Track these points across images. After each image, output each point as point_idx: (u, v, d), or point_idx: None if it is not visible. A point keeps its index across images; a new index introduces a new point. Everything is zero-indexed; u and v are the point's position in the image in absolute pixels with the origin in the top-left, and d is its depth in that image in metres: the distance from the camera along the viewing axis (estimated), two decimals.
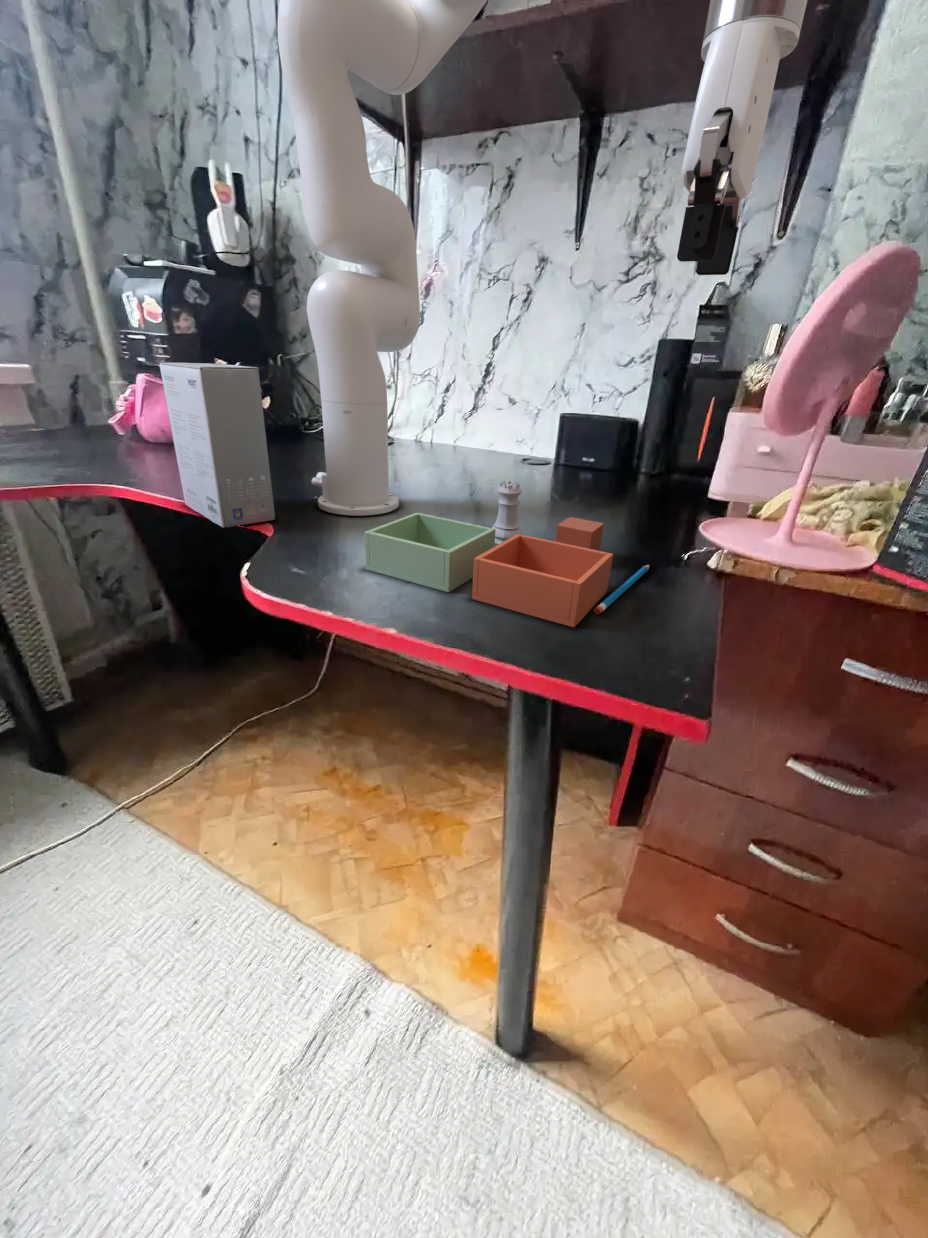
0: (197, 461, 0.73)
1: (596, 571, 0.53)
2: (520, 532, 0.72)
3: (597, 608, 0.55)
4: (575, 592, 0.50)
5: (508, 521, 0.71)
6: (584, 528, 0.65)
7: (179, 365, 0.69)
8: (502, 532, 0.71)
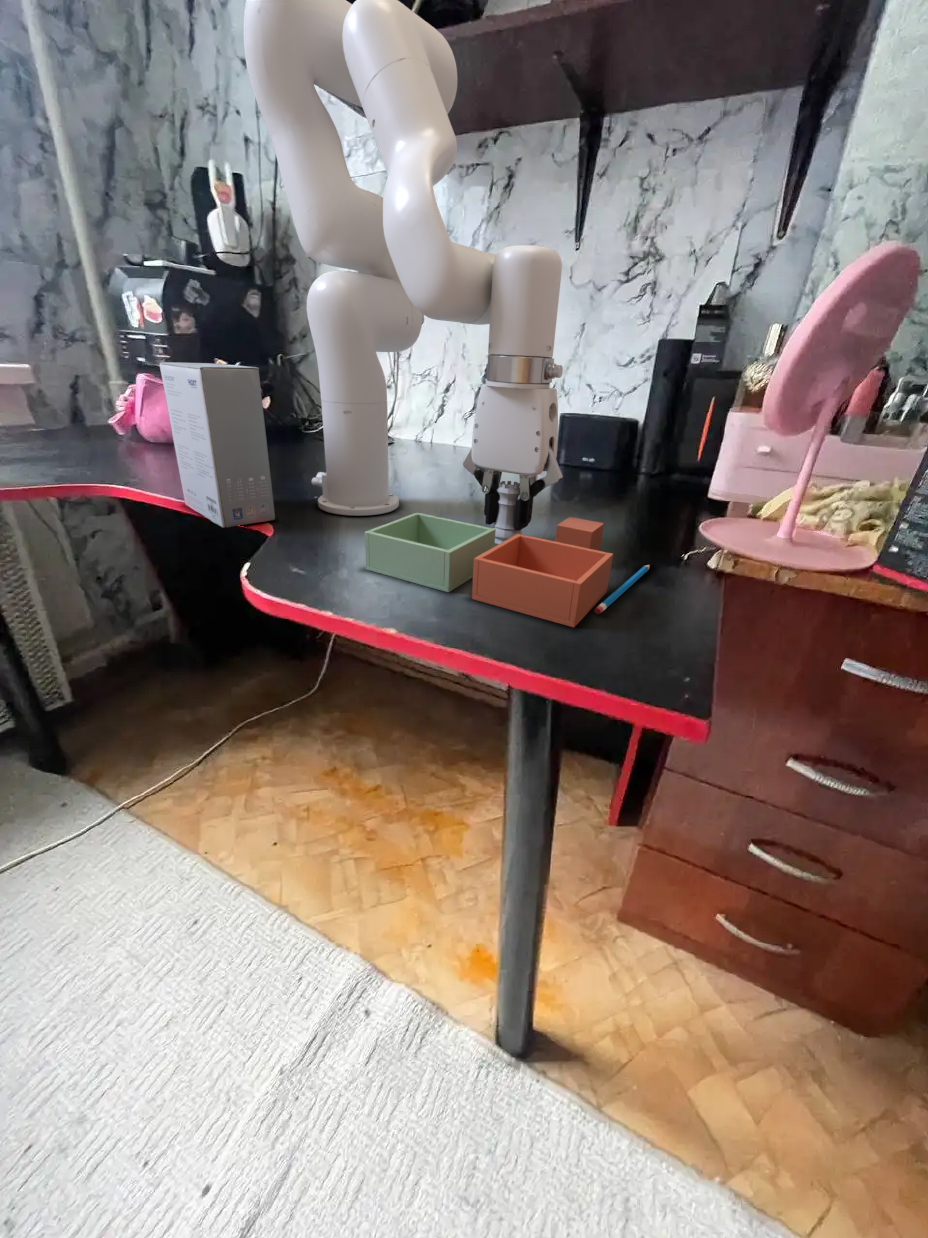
0: (197, 461, 0.73)
1: (596, 571, 0.53)
2: (520, 532, 0.72)
3: (597, 608, 0.55)
4: (575, 592, 0.50)
5: (508, 521, 0.71)
6: (584, 528, 0.65)
7: (179, 365, 0.69)
8: (502, 532, 0.71)
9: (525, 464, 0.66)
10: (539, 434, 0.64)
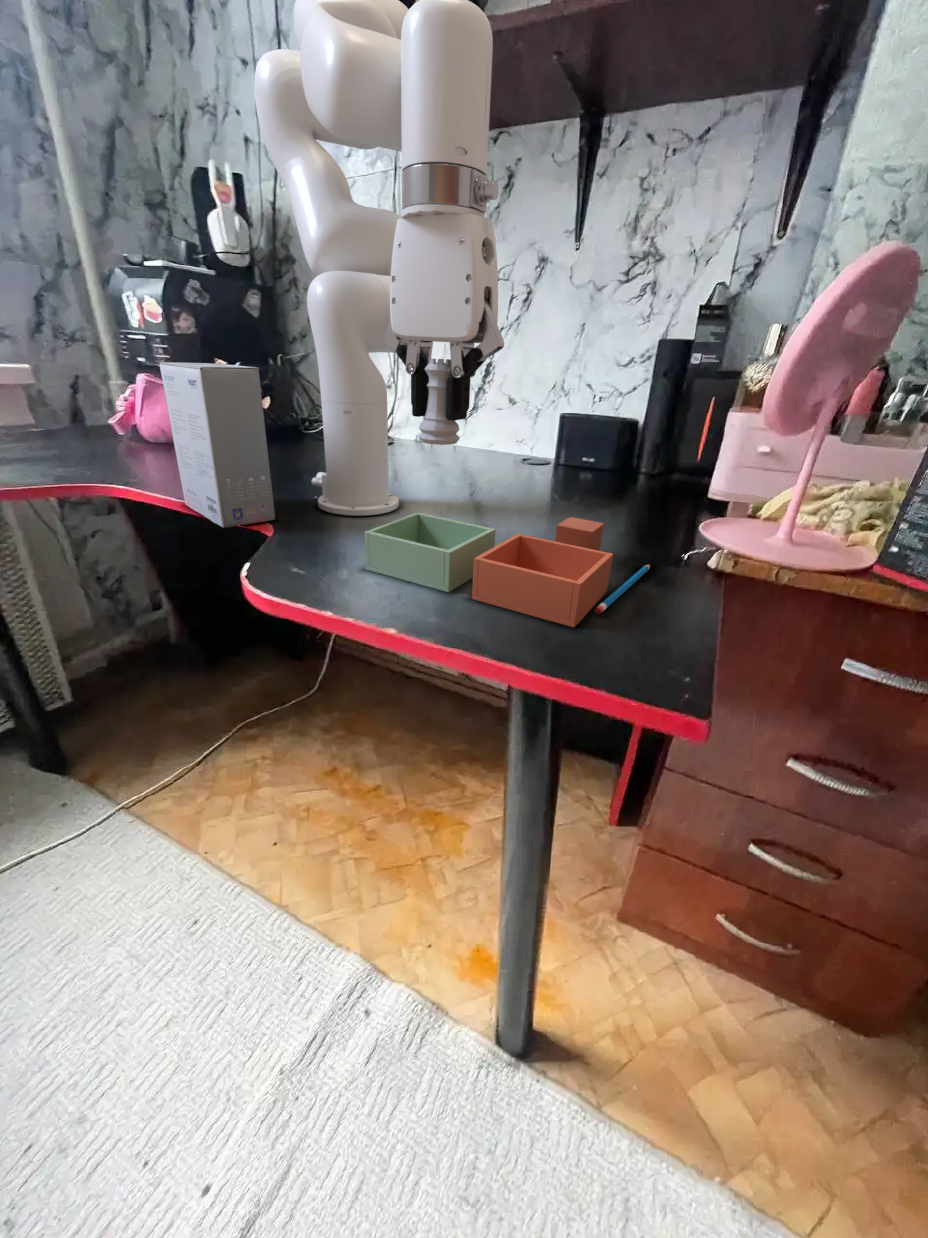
0: (197, 461, 0.73)
1: (596, 571, 0.53)
2: (456, 426, 0.57)
3: (598, 608, 0.55)
4: (575, 592, 0.50)
5: (440, 410, 0.56)
6: (584, 528, 0.65)
7: (179, 365, 0.69)
8: (433, 423, 0.56)
9: (455, 324, 0.51)
10: (470, 279, 0.49)
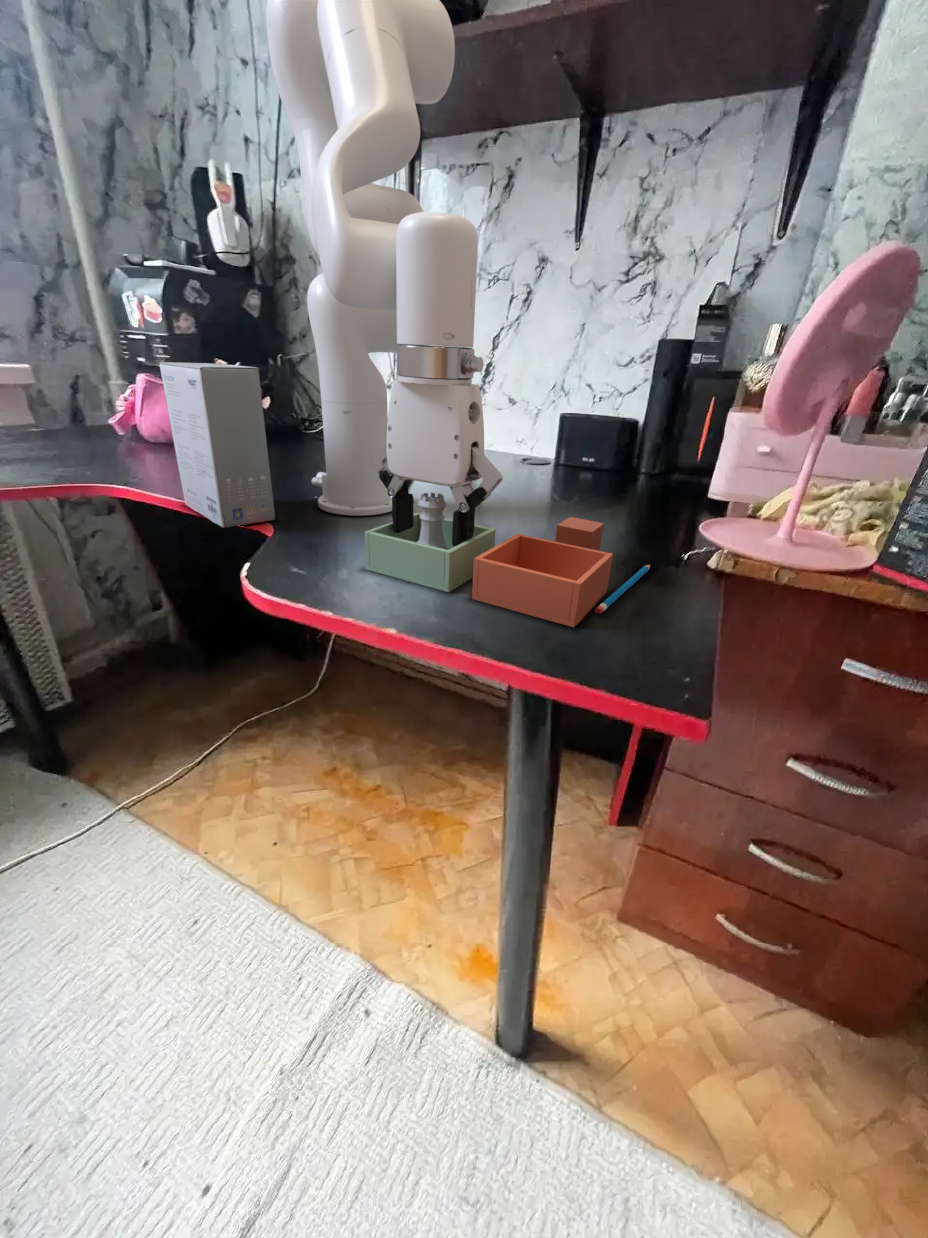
0: (197, 461, 0.73)
1: (596, 571, 0.53)
2: None
3: (598, 608, 0.55)
4: (575, 592, 0.50)
5: (431, 539, 0.61)
6: (584, 528, 0.65)
7: (179, 365, 0.69)
8: None
9: (444, 473, 0.56)
10: (458, 438, 0.54)
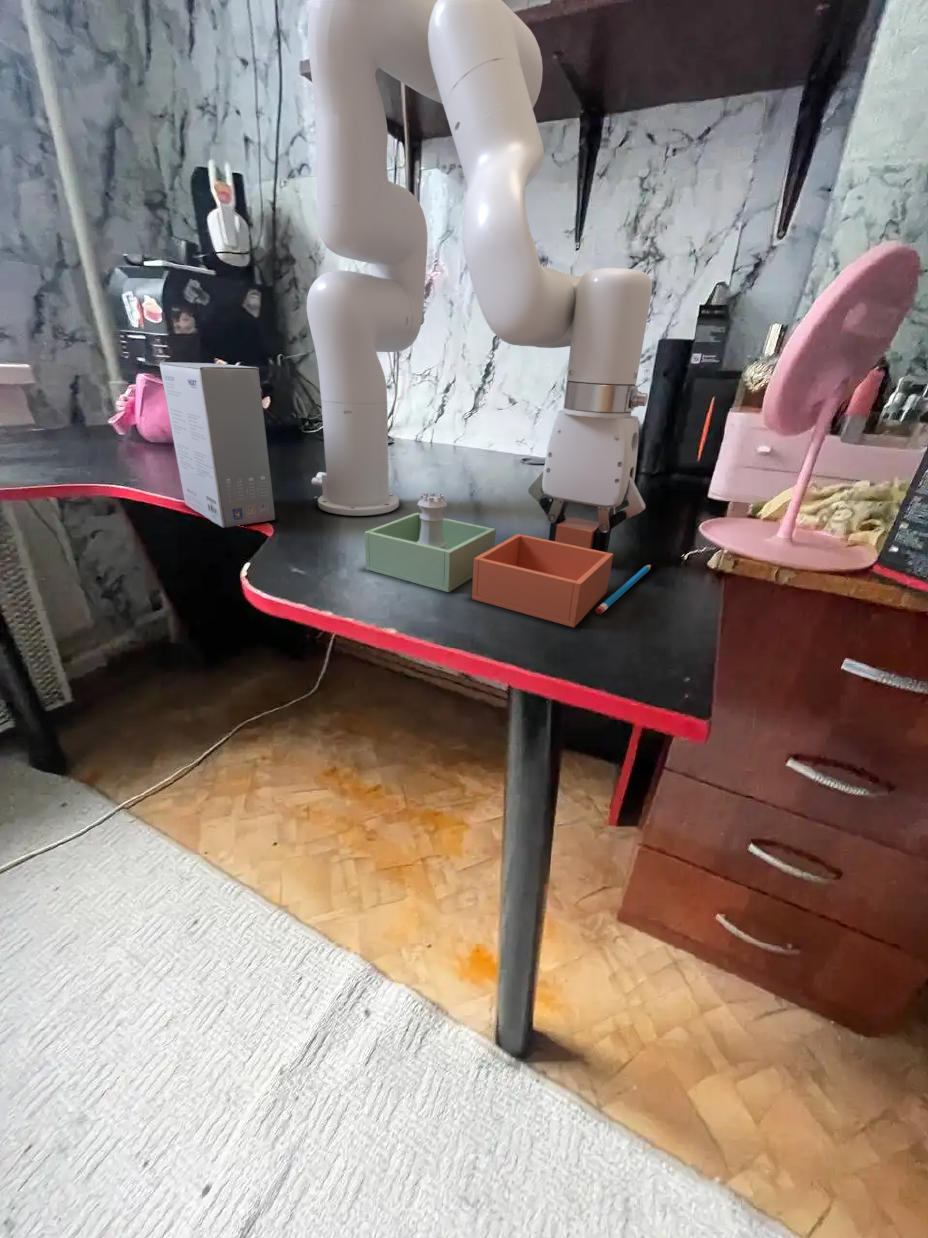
0: (197, 461, 0.73)
1: (596, 571, 0.53)
2: None
3: (599, 608, 0.55)
4: (575, 592, 0.50)
5: (431, 539, 0.61)
6: (584, 528, 0.65)
7: (179, 365, 0.69)
8: None
9: (603, 496, 0.62)
10: (621, 465, 0.60)
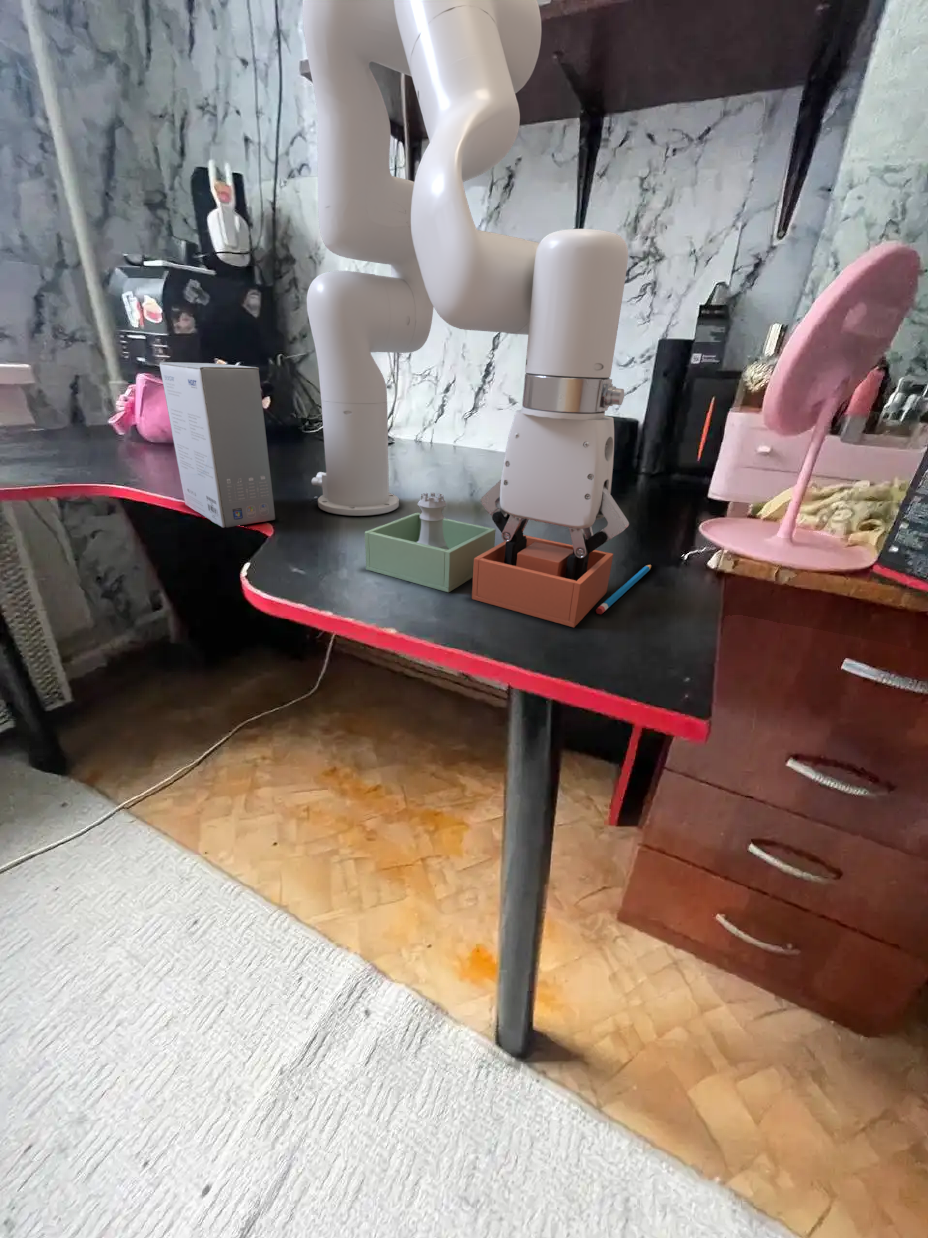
0: (197, 461, 0.73)
1: (596, 571, 0.53)
2: None
3: (599, 608, 0.55)
4: (575, 592, 0.50)
5: (431, 539, 0.61)
6: (550, 557, 0.54)
7: (179, 365, 0.69)
8: None
9: (571, 514, 0.51)
10: (591, 478, 0.49)
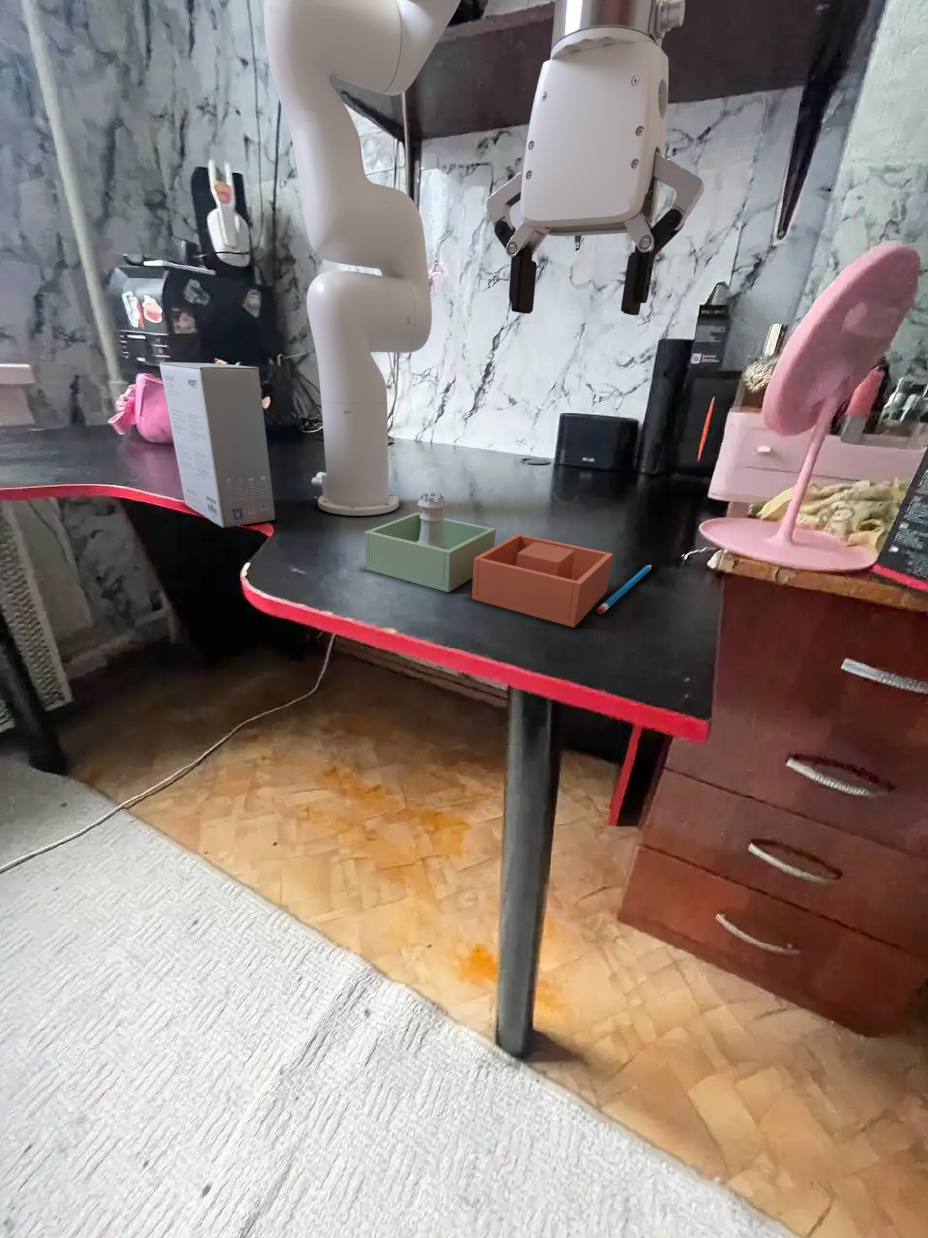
0: (197, 461, 0.73)
1: (596, 571, 0.53)
2: None
3: (600, 608, 0.55)
4: (575, 592, 0.50)
5: (431, 539, 0.61)
6: (550, 557, 0.54)
7: (179, 365, 0.69)
8: None
9: (613, 198, 0.40)
10: (641, 133, 0.38)
